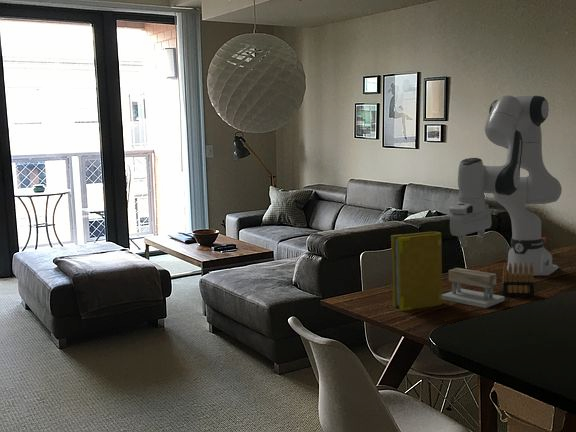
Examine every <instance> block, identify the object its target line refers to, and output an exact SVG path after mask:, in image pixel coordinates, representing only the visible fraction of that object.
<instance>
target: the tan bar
mask: <svg viewBox="0 0 576 432" xmlns="http://www.w3.org/2000/svg"><path fill="white" fill-rule="evenodd" d="M448 282H450V283H452V282H456V284H457V283H461V285H469V286H472V287H473V286H474V287H480V288H483V289H484V288H488V289H489V288H490V287H493V288H494V287H496V286H497V274H496V273H491V272H486V271H479V270H475V269H474V270H473V269H469V268H467V269H466V268H462V267H461V268H460V267H454V268H452V269H449V270H448Z"/></svg>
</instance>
